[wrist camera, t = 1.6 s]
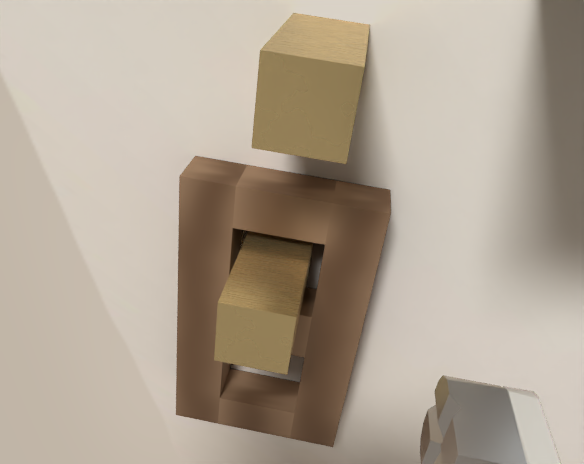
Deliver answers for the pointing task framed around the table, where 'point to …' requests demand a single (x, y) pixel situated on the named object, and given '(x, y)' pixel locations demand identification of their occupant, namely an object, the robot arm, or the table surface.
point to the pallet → (316, 302)
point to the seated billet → (262, 303)
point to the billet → (310, 87)
